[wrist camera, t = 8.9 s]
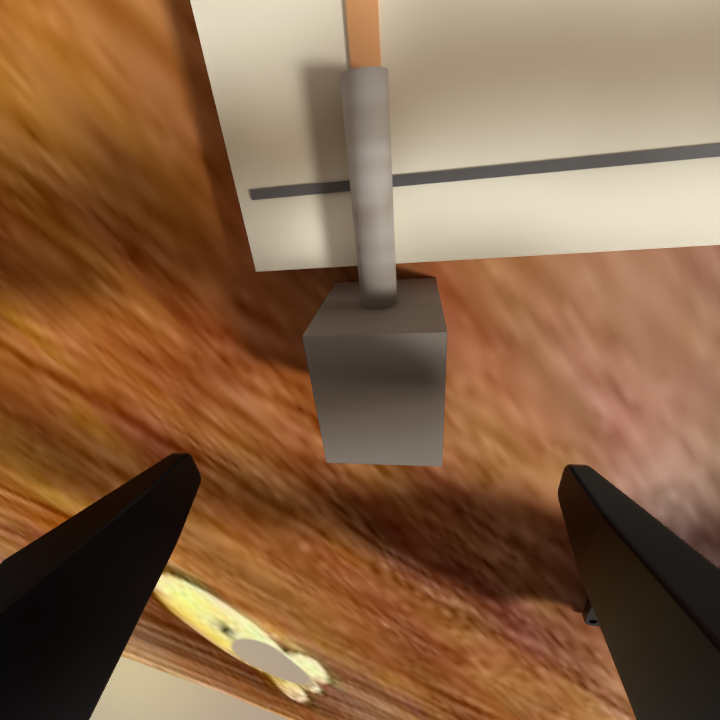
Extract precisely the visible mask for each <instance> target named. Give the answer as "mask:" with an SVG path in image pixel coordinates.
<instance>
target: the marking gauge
mask: <svg viewBox="0 0 720 720" xmlns="http://www.w3.org/2000/svg"><path fill="white" fill-rule="evenodd" d="M340 85H341V95H342V106H343V116H344V127H345V137H346V148H347V159H348V169H349V180H350V190H351V201H352V211H353V222H354V233H355V243H356V254H357V264H358V275H359V281H357V282H338V283H335V284H334V285H333V287H332V289H331V290H330V292H329V294H328V295H327V297H326V298H325V300H324V302H323V303H322V305H321V307H320V308H319V310H318V311H317V313H316V315H315V316H314V318H313V319H312V321H311V323H310V324H309V326H308V328H307V329H306V331H305V332H304V334H303V336H302V338H303V343H304V348H305V354H306V359H307V364H308V369H309V374H310V379H311V384H312V389H313V395H314V400H315V405H316V410H317V415H318V420H319V425H320V430H321V436H322V441H323V446H324V451H325V456H326V461H327V463H353V464H384V465H414V466H442V454H443V429H444V403H445V378H446V352H447V329H446V324H445V319H444V315H443V310H442V305H441V301H440V296H439V291H438V287H437V282H436V278H435V277H434V278H415V279H396V259H395V234H394V208H393V183H392V157H391V132H390V106H389V81H388V69H387V68H385V67H380V66H368V67H360V68H355V69H351V70H347V71H345V72H343V73H341V74H340Z"/></svg>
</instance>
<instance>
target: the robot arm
mask: <svg viewBox="0 0 720 720" xmlns="http://www.w3.org/2000/svg"><path fill="white" fill-rule="evenodd" d="M200 481H201V476H200V472H199V470H198V468H197V466H196V464H195V462H194V460H193V457H192V456H191V455H190V454H189V453H173V454H170V455H169V456H167V457H166V458H164V459H163V460H161V461H159V462H158V463H156V464H155V465H153V466H152V467H150V468H148V469H147V470H145V471H144V472H142V473H141V474H139V475H137V476H136V477H134V478H133V479H131V480H129V481H128V482H126V483H125V484H123V485H122V486H120V487H118V488H117V489H115V490H114V491H112V492H111V493H109V494H107V495H106V496H104V497H103V498H101V499H100V500H98V501H96V502H95V503H93V504H92V505H90V506H89V507H87V508H85V509H84V510H82V511H81V512H79V513H78V514H76V515H74V516H73V517H71V518H70V519H68V520H67V521H65V522H63V523H62V524H60V525H59V526H57V527H55V528H54V529H52V530H51V531H49V532H48V533H46V534H44V535H43V536H41V537H40V538H38V539H37V540H35V541H33V542H32V543H30V544H29V545H27V546H26V547H24V548H22V549H21V550H19V551H18V552H16V553H15V554H13V555H11V556H10V557H8V558H7V559H5V560H4V561H3V562H2V563H1V564H0V720H89V719H90V717H91V715H92V713H93V711H94V709H95V707H96V705H97V703H98V701H99V699H100V697H101V695H102V693H103V691H104V689H105V687H106V685H107V683H108V681H109V679H110V677H111V674H112V673H113V670H114V669H115V667H116V664H117V663H118V661H119V659H120V657H121V655H122V653H123V651H124V649H125V647H126V645H127V643H128V641H129V639H130V637H131V635H132V632H133V630H134V628H135V626H136V624H137V622H138V620H139V618H140V616H141V614H142V612H143V610H144V608H145V606H146V604H147V602H148V600H149V598H150V596H151V594H152V592H153V590H154V588H155V586H156V584H157V582H158V580H159V578H160V576H161V574H162V572H163V570H164V568H165V566H166V564H167V562H168V560H169V558H170V556H171V554H172V552H173V550H174V548H175V546H176V543H177V541H178V539H179V536H180V534H181V532H182V529H183V527H184V524H185V521H186V519H187V516H188V514H189V511H190V508H191V506H192V503H193V501H194V498H195V496H196V493H197V490H198V488H199V485H200ZM558 499H559V503H560V506H561V510H562V514H563V517H564V521H565V524H566V528H567V532H568V535H569V539H570V542H571V546H572V550H573V553H574V557H575V560H576V564H577V567H578V570H579V573H580V576H581V579H582V582H583V584H584V587H585V590H586V592H587V595H588V597H589V601H588V603H587V605H586V608H585V610H584V612H583V614H582V616H583V619H584V621H585V623H586V624H588V625H593V626H600V628H601V630H602V633H603V635H604V638H605V640H606V643H607V645H608V648H609V651H610V653H611V656H612V658H613V661H614V663H615V666H616V668H617V671H618V673H619V676H620V679H621V681H622V684H623V686H624V689H625V691H626V694H627V696H628V699H629V701H630V704H631V707H632V709H633V712H634V714H635V717H636V719H637V720H720V569H719V568H718V567H716V566H715V565H714V564H713V563H711V562H710V561H709V560H708V559H706V558H705V557H704V556H703V555H701V554H700V553H699V552H697V551H696V550H695V549H694V548H692V547H691V546H690V545H689V544H687V543H686V542H685V541H684V540H682V539H681V538H680V537H678V536H677V535H676V534H675V533H673V532H672V531H671V530H670V529H668V528H667V527H666V526H665V525H663V524H662V523H661V522H659V521H658V520H657V519H656V518H654V517H653V516H652V515H651V514H649V513H648V512H647V511H646V510H644V509H643V508H642V507H640V506H639V505H638V504H637V503H635V502H634V501H633V500H632V499H630V498H629V497H628V496H627V495H625V494H624V493H623V492H621V491H620V490H619V489H618V488H616V487H615V486H614V485H613V484H611V483H610V482H609V481H608V480H606V479H605V478H604V477H603V476H601V475H600V474H599V473H597V472H596V471H595V470H594V469H592V468H591V467H589V466H587V465H575V464H569V465H567V466H566V467H565V468H564V471H563V474H562V478H561V481H560V485H559V488H558Z"/></svg>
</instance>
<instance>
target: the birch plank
mask: <svg viewBox="0 0 720 720" xmlns="http://www.w3.org/2000/svg"><path fill="white" fill-rule="evenodd" d="M190 1H191V6H192V10H193V14H194V18H195V22H196V26H197V30H198V34H199V39H200V43H201V47H202V51H203V55H204V59H205V63H206V67H207V72H208V76H209V80H210V84H211V88H212V92H213V96H214V100H215V105H216V109H217V113H218V117H219V121H220V125H221V129H222V133H223V137H224V142H225V146H226V150H227V154H228V158H229V162H230V166H231V170H232V175H233V179H234V183H235V187H236V191H237V195H238V199H239V203H240V208H241V212H242V216H243V220H244V224H245V228H246V232H247V236H248V241H249V245H250V249H251V253H252V257H253V261H254V265H255V269H256V272H260V271H277V270H294V269H311V268H328V267H346V266H358V264H357V254H356V243H355V233H354V222H353V211H352V201H351V190H350V180H349V169H348V159H347V148H346V137H345V127H344V116H343V106H342V95H341V85H340V74H341V73H343V72H345V71H347V70H351V69H355V68H360V67H368V66H380V67H385V68H387V69H388V81H389V106H390V132H391V157H392V183H393V208H394V234H395V259H396V264H397V263H414V262H431V261H448V260H465V259H483V258H500V257H517V256H534V255H551V254H568V253H585V252H602V251H620V250H637V249H654V248H671V247H688V246H705V245H720V0H190Z"/></svg>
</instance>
